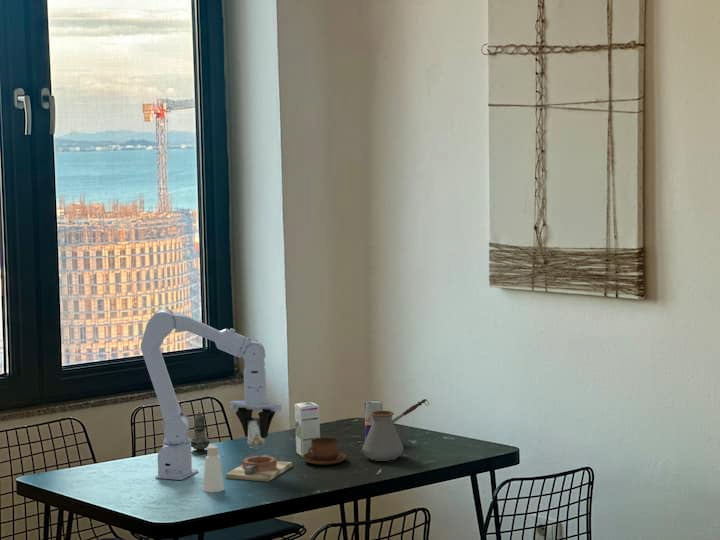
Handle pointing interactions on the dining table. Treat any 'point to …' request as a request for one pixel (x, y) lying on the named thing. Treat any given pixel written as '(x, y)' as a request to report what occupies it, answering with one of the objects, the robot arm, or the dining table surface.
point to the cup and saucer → (324, 452)
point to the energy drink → (369, 408)
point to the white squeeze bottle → (213, 471)
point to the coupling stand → (259, 468)
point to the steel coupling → (254, 431)
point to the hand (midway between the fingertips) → (256, 436)
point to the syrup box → (306, 426)
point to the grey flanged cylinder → (199, 436)
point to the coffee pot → (385, 436)
